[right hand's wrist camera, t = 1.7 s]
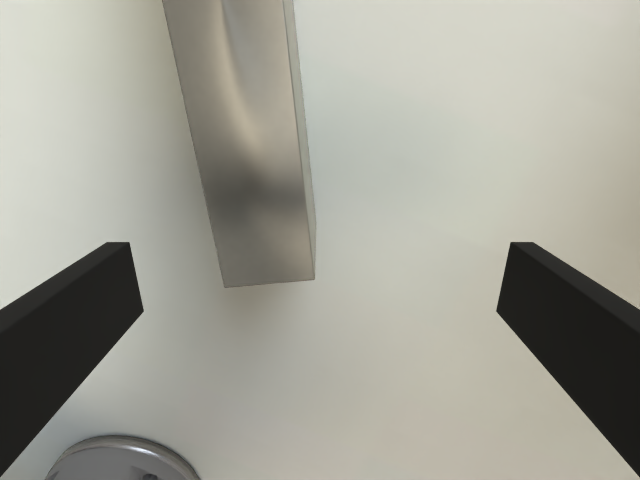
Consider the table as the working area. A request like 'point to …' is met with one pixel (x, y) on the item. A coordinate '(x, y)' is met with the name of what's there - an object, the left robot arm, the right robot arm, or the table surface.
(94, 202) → the table surface
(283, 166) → the bar
